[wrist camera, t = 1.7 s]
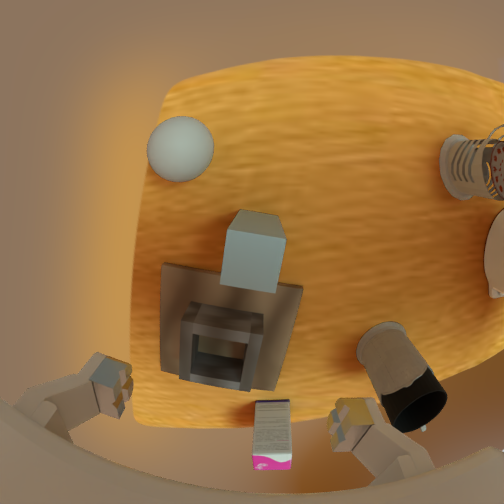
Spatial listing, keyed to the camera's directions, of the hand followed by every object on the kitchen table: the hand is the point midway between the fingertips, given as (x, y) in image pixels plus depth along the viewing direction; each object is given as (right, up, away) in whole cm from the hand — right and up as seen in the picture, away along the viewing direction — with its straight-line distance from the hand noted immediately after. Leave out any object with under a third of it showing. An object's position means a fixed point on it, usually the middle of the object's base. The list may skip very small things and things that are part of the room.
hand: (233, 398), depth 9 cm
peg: (+1, +8, +23) cm, 25 cm away
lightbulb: (-5, +17, +21) cm, 28 cm away
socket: (-3, -6, +28) cm, 28 cm away
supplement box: (+4, -22, +32) cm, 39 cm away
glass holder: (+22, -11, +28) cm, 38 cm away
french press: (+31, +19, +19) cm, 41 cm away
